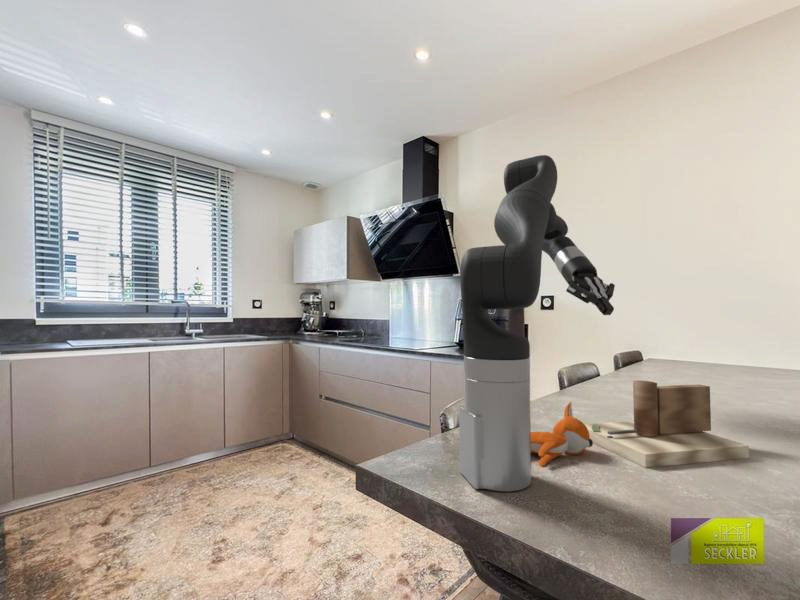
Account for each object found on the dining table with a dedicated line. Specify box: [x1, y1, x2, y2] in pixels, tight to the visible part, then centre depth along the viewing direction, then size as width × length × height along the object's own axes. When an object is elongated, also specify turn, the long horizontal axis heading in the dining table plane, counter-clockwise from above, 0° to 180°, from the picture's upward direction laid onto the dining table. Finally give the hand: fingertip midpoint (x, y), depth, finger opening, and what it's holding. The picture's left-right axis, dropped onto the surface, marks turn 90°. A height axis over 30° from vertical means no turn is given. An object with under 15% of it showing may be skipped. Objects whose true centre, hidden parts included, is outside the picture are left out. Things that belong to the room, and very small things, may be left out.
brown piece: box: [608, 380, 712, 437], centre depth 69 cm, size 21×4×9 cm, turn 102°
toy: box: [531, 401, 594, 468], centre depth 68 cm, size 8×22×15 cm
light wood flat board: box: [583, 420, 750, 468], centre depth 68 cm, size 20×16×2 cm
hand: (609, 312), depth 89 cm, fingers closed
